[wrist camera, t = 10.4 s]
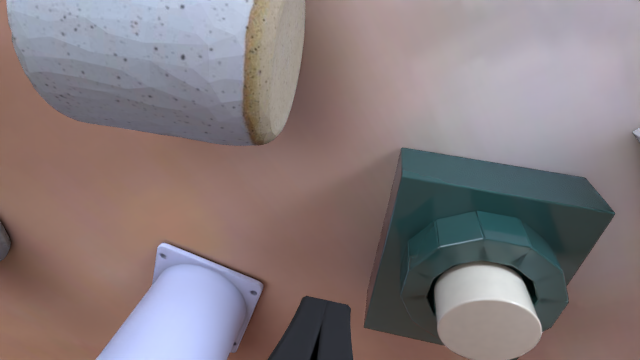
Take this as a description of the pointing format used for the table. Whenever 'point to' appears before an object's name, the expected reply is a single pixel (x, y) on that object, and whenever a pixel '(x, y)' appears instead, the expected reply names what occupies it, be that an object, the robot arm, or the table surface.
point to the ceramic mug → (165, 63)
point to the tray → (637, 134)
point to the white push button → (485, 312)
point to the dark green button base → (477, 235)
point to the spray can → (4, 242)
